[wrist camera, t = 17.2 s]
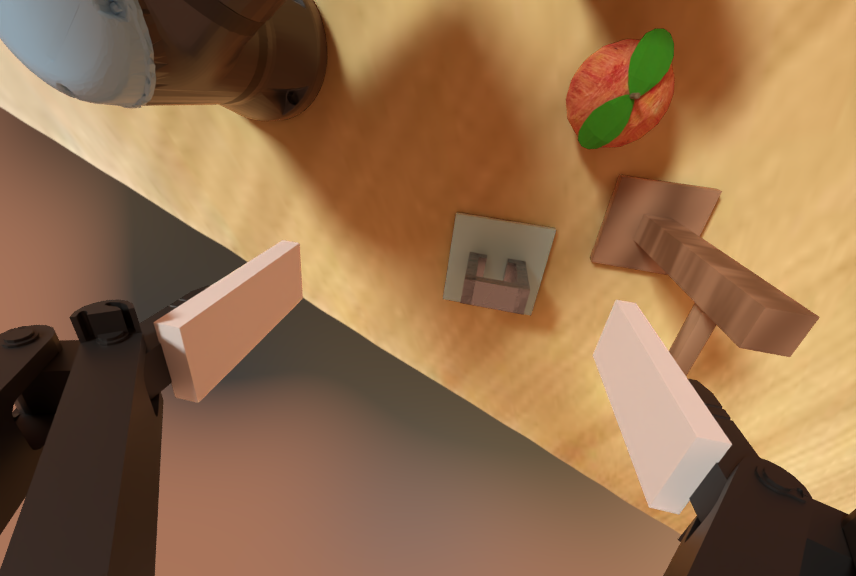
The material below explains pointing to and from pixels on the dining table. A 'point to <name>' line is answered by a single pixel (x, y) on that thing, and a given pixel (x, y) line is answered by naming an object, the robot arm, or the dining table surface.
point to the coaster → (497, 251)
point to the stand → (696, 269)
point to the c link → (496, 286)
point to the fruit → (622, 90)
